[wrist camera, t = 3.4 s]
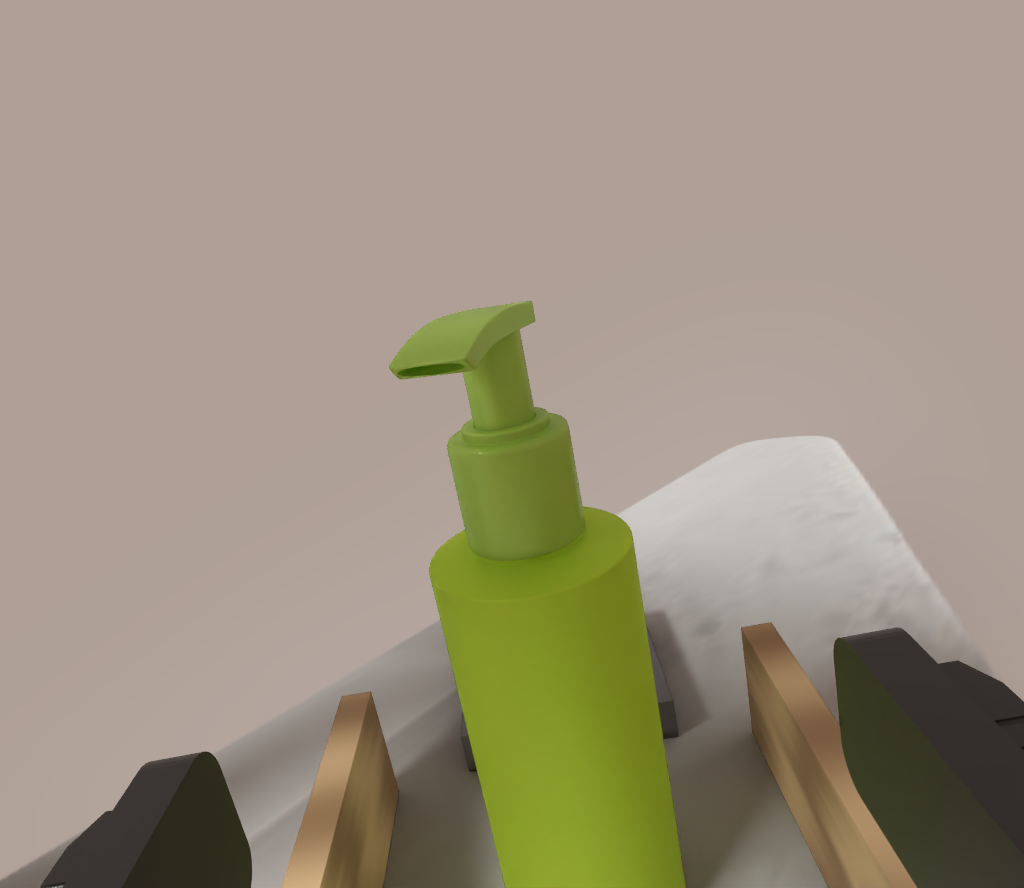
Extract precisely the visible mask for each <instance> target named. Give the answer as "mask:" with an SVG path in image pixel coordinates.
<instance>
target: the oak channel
mask: <svg viewBox="0 0 1024 888" xmlns="http://www.w3.org/2000/svg"><path fill="white" fill-rule="evenodd" d="M741 631H742V641H743V650H744V659H745V668H746V677H747V686H748V696H749V705H750V714H751V723H752V732H753V734H754V736H755V738H756V740H757V742H758V744H759V746H760V748H761V751H762V753H763V755H764V757H765V759H766V761H767V763H768V765H769V767H770V769H771V771H772V773H773V775H774V777H775V779H776V781H777V783H778V785H779V787H780V789H781V791H782V794H783V796H784V798H785V800H786V802H787V804H788V806H789V808H790V810H791V812H792V814H793V816H794V818H795V820H796V822H797V824H798V826H799V828H800V830H801V832H802V834H803V836H804V839H805V841H806V843H807V845H808V847H809V849H810V851H811V853H812V855H813V857H814V859H815V861H816V863H817V865H818V867H819V869H820V871H821V873H822V875H823V877H824V879H825V882H826V884H827V886H828V888H917V887H916V885H915V883H914V882H913V880H912V879H911V877H910V875H909V874H908V872H907V871H906V869H905V867H904V866H903V864H902V863H901V861H900V859H899V858H898V856H897V855H896V853H895V851H894V850H893V848H892V847H891V845H890V844H889V842H888V840H887V839H886V837H885V836H884V834H883V832H882V831H881V829H880V828H879V826H878V824H877V823H876V821H875V820H874V818H873V816H872V815H871V813H870V812H869V810H868V808H867V807H866V805H865V804H864V802H863V800H862V799H861V797H860V795H859V794H858V792H857V790H856V788H855V786H854V783H853V781H852V778H851V776H850V773H849V770H848V767H847V764H846V761H845V757H844V753H843V748H842V742H841V732H840V725H839V724H838V722H837V721H836V719H835V718H834V716H833V715H832V713H831V712H830V710H829V709H828V707H827V706H826V704H825V703H824V701H823V700H822V698H821V697H820V695H819V694H818V692H817V691H816V689H815V687H814V686H813V684H812V683H811V681H810V680H809V678H808V677H807V675H806V674H805V672H804V671H803V669H802V668H801V666H800V665H799V663H798V662H797V660H796V659H795V657H794V656H793V654H792V653H791V651H790V650H789V648H788V647H787V645H786V644H785V642H784V641H783V639H782V638H781V636H780V635H779V633H778V632H777V630H776V629H775V627H774V626H773V624H772V623H771V622H770V623H764V624H759V625H753V626H747V627H741ZM398 795H399V789H398V786H397V782H396V779H395V775H394V772H393V768H392V765H391V761H390V758H389V754H388V750H387V747H386V743H385V740H384V736H383V733H382V729H381V726H380V722H379V719H378V715H377V711H376V708H375V704H374V701H373V697H372V694H371V692H365V693H360V694H354V695H348V696H342V698H341V701H340V704H339V707H338V710H337V713H336V717H335V720H334V723H333V726H332V729H331V732H330V736H329V739H328V742H327V745H326V748H325V751H324V754H323V758H322V761H321V764H320V767H319V770H318V773H317V777H316V780H315V783H314V786H313V789H312V792H311V795H310V799H309V802H308V805H307V808H306V811H305V814H304V818H303V821H302V824H301V827H300V830H299V833H298V837H297V840H296V843H295V846H294V849H293V852H292V855H291V859H290V862H289V865H288V868H287V871H286V874H285V878H284V881H283V884H282V887H281V888H383V884H384V878H385V872H386V866H387V860H388V854H389V848H390V842H391V836H392V830H393V825H394V819H395V813H396V807H397V801H398Z"/></svg>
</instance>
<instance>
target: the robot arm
mask: <svg viewBox="0 0 1024 888" xmlns="http://www.w3.org/2000/svg"><path fill="white" fill-rule="evenodd" d="M834 665H835V676H836V687H837V698H838V710H839V721H840V732H841V742H842V748H843V753H844V757H845V761H846V764H847V767H848V770H849V773H850V776H851V778H852V781H853V783H854V786H855V788H856V790H857V792H858V794H859V795H860V797H861V799H862V800H863V802H864V804H865V805H866V807H867V808H868V810H869V812H870V813H871V815H872V816H873V818H874V820H875V821H876V823H877V824H878V826H879V828H880V829H881V831H882V832H883V834H884V836H885V837H886V839H887V840H888V842H889V844H890V845H891V847H892V848H893V850H894V851H895V853H896V855H897V856H898V858H899V859H900V861H901V863H902V864H903V866H904V867H905V869H906V871H907V872H908V874H909V875H910V877H911V879H912V880H913V882H914V883H915V885H916V887H917V888H1024V702H1023V701H1022V700H1021V699H1020V698H1019V697H1018V696H1017V695H1016V694H1015V693H1014V692H1013V691H1011V690H1010V689H1009V688H1008V687H1007V686H1006V685H1005V684H1004V683H1002V682H1000V681H998V680H996V679H994V678H992V677H990V676H988V675H986V674H984V673H982V672H980V671H978V670H976V669H974V668H972V667H970V666H968V665H966V664H964V663H962V662H960V661H952V662H947V663H941V664H938V663H937V662H936V661H935V660H934V659H933V658H932V657H931V656H930V655H929V654H928V653H927V652H926V651H925V650H924V649H923V648H922V647H921V646H920V645H919V644H918V643H917V642H916V641H915V640H914V639H913V638H912V637H911V636H910V635H909V634H908V633H907V632H906V631H904V630H903V629H901V628H892V629H886V630H881V631H875V632H870V633H864V634H859V635H853V636H848V637H842V638H838V639H837V640H836V641H835V644H834ZM251 880H252V860H251V853H250V848H249V844H248V841H247V838H246V836H245V833H244V830H243V828H242V825H241V822H240V819H239V817H238V814H237V811H236V809H235V806H234V803H233V800H232V798H231V795H230V792H229V790H228V787H227V784H226V781H225V779H224V776H223V773H222V770H221V768H220V765H219V763H218V761H217V760H216V758H215V757H214V756H213V755H212V754H211V753H209V752H201V753H195V754H190V755H185V756H179V757H174V758H169V759H162V760H157V761H151V762H148V763H146V764H145V765H144V766H142V767H141V769H140V770H139V771H138V773H137V774H136V776H135V777H134V779H133V780H132V782H131V783H130V785H129V787H128V788H127V790H126V791H125V793H124V794H123V796H122V797H121V799H120V800H119V802H118V803H117V805H116V806H115V808H114V810H112V811H107V812H105V813H104V814H103V815H102V816H101V817H100V818H98V819H97V820H96V821H95V822H94V823H93V824H92V825H91V826H90V827H89V828H88V829H87V830H85V831H84V832H83V833H82V834H81V835H80V836H79V837H78V838H77V839H76V840H75V841H74V842H72V843H71V844H70V845H69V846H68V847H67V848H66V850H65V851H64V853H63V854H62V856H61V857H60V859H59V860H58V862H57V863H56V864H55V866H54V867H53V869H52V870H51V872H50V873H49V875H48V876H47V878H46V879H45V880H44V882H43V883H42V885H41V886H40V887H41V888H251Z"/></svg>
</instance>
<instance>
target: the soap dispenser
mask: <svg viewBox="0 0 1024 888" xmlns="http://www.w3.org/2000/svg"><path fill="white" fill-rule="evenodd" d="M533 322H535V316H534V310H533V304H532V301H526V302H519V303H512V304H505V305H499V306H493V307H486V308H478V309H472V310H467V311H462V312H458V313H454V314H450V315H447V316H444V317H441V318H438V319H436V320H434V321H432V322H430V323H428V324H427V325H425V326H424V327H422V328H421V329H420V330H418V331H417V332H416V333H415V334H414V335H413V336H412V337H411V338H410V339H409V340H408V341H407V342H406V344H405V345H404V346H403V347H402V348H401V350H400V351H399V352H398V354H397V355H396V357H395V358H394V359H393V361H392V362H391V364H390V366H389V368H390V370H391V371H392V372H393V374H394V375H395V376H397V377H398V378H399V379H409V378H417V377H426V376H435V375H443V374H451V373H459V372H463V375H464V380H465V385H466V389H467V395H468V399H469V404H470V409H471V414H472V419H471V420H470V421H468V422H467V423H465V424H464V425H463V427H462V429H461V430H460V431H459V432H457V433H455V434H454V435H453V436H452V437H451V438H450V439H449V442H448V444H447V447H448V448H447V449H448V455H449V459H450V464H451V468H452V472H453V477H454V482H455V486H456V491H457V495H458V499H459V504H460V509H461V513H462V518H463V522H464V526H465V530H463V531H462V532H460V533H458V534H457V535H455V536H454V537H452V538H451V539H449V540H448V541H447V542H446V543H445V544H443V545H442V546H441V547H440V549H439V550H438V551H437V552H436V553H435V555H434V556H433V558H432V560H431V563H430V568H429V573H430V578H431V582H432V587H433V591H434V595H435V599H436V603H437V607H438V611H439V615H440V620H441V624H442V628H443V632H444V636H445V640H446V644H447V648H448V653H449V657H450V661H451V665H452V669H453V673H454V677H455V681H456V686H457V690H458V694H459V698H460V702H461V706H462V710H463V715H464V719H465V723H466V727H467V731H468V735H469V739H470V743H471V748H472V752H473V756H474V760H475V764H476V768H477V772H478V776H479V781H480V785H481V789H482V793H483V797H484V801H485V805H486V809H487V814H488V818H489V822H490V826H491V830H492V834H493V838H494V842H495V847H496V851H497V855H498V859H499V863H500V867H501V871H502V876H503V880H504V884H505V888H686V886H685V879H684V872H683V866H682V859H681V853H680V846H679V839H678V833H677V826H676V820H675V813H674V807H673V800H672V793H671V787H670V780H669V774H668V767H667V760H666V754H665V747H664V741H663V734H662V727H661V721H660V714H659V708H658V701H657V694H656V688H655V681H654V675H653V668H652V661H651V655H650V648H649V642H648V635H647V628H646V622H645V615H644V609H643V602H642V595H641V589H640V582H639V576H638V569H637V562H636V556H635V549H634V543H633V536H632V532H631V530H630V528H629V526H628V525H627V524H626V522H624V521H623V520H622V519H621V518H619V517H618V516H616V515H614V514H612V513H609V512H606V511H603V510H599V509H596V508H591V507H583V506H582V501H581V496H580V489H579V483H578V478H577V472H576V466H575V460H574V454H573V448H572V443H571V436H570V431H569V426H568V423H567V421H566V419H564V418H563V417H562V416H560V415H557V414H553V413H548V412H547V411H546V410H545V409H543V408H538V407H534V406H533V400H532V395H531V389H530V384H529V379H528V373H527V368H526V362H525V357H524V351H523V346H522V340H521V335H520V329H521V328H523V327H525V326H527V325H529V324H531V323H533Z"/></svg>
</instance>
